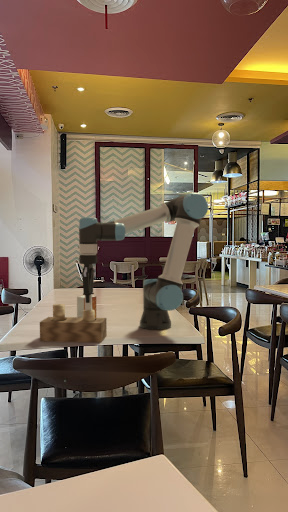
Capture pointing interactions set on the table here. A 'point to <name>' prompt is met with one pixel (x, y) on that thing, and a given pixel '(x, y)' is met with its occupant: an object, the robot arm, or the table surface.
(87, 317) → the peg
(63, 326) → the socket block
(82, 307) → the small box
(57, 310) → the peg
